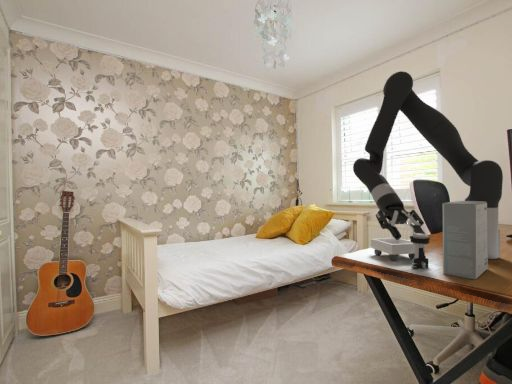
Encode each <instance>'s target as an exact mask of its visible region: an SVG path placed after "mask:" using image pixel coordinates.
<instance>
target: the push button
mask: <svg viewBox="0 0 512 384" xmlns="http://www.w3.org/2000/svg"><path fill="white" fill-rule="evenodd" d="M430 240H431V238H430V237H428V234H426V233H425V234H422V233H415V232H414V233H412V236H411V235H410V236H409V241H411V242H412V243H413V244H414V245H415V254H414V258H413V259H411V263H410V264H411V266H410V268H413V269H417V270H419V269H425V268H428V267H429V258H427V257H426V256H427V255H426V254H425V252H426V251H425V248H426V245H427V244H429V243H430Z"/></svg>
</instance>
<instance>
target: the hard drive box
mask: <svg viewBox="0 0 512 384" xmlns="http://www.w3.org/2000/svg"><path fill="white" fill-rule="evenodd" d="M488 260H489V259H488V245H487V202H484V201H465V200H453V201H449V202H443V203H442V274H443V275H448V276H453V277H459V278H464V279H468V280H476V279H478V278H479V277H480V276H481V275H483V273H484V272H485V271H486V270H487V269H488V268H489V266H488V265H489V264H488V263H489V261H488Z"/></svg>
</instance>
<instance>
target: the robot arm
mask: <svg viewBox="0 0 512 384" xmlns="http://www.w3.org/2000/svg"><path fill="white" fill-rule="evenodd" d="M413 86H414V79H413V77H412V74H410V73H408V72H406V71H402V70H400V71H397V72H396V71H395V72H394V73H392V74H390V76H389V77H388V78H387V79H386V81H385V83H384V86H383V89H382V93H383V101H382V104H381V106H380V109H379V112H378V114H377V117H376V119H375V122H374V124H373V126H372V127H371V130H370V132H369V135H368V138H367V140H366V143H365V146H364V151H365V152H366V153H368V154H369V159H368V158H366V157H360V158H357V159H356V160H355V161H354V162H353V166H352V169H353V173H354V175H355V177H357V179H359V180H360V182H361V183H362V184H363V185H364V186H365V187H366V188H367V190H368V191H369V193H370V194H371V196H372V199H373V202H374V203H375V205H376V206H377V208H378V211H377V213H376V214H375V217H376V220H377V221H378V224H379V225H380V227H381V229H382V230H388V231H389V232H390V234H391V236H392V238H395V239H396V240H399V239H400V238H401V239H402V234H401V233H400V231H399V230H398V227H397V226H395V225H404V226H406V227H409V228H411V229H413V231H414V233H422V234H426V233H425V232H424V230H423V228H422V226H423V225H424V224H425V221H423V219H422V218H421V217H420V215H419V214H418V213H417V212H416V210H414V209H411V210H410V211H407V210H406V209H405V206H404V202H403V201H402V199H401V198H400V196H399V195H398V194H397V192H396V191H395V189H394V188H393V187H392V186H391V185H390V183H389V182H388V180H387V179H386V177H385V176H384V175H382V174H381V172H382V169H383V163H384V153H385V149H386V147H387V144H388V142H389V139H390V136H391V133H392V130H393V127H394V124H395V121H396V118H397V116H398V114H399V113H400V112H401V113H402V114H403V115H404V116H405V117H406V118H407V119H408V120H409V122H410V123H411V124H412V126H413V127H414V128H415V129H416V130H417V131H418V132H419V134H420V135H421V136H422V137H423V138H424V139H425V140H426V142H428V143H429V145H431V146H432V148H434V149H435V150H436V151H437V152H438V153H439V154H440V155H441V156H442V158H443V159H445V160H446V161H447V163H448V164H449V165H450V166H451V168H452V169H453V170H454V172H456V175H457V176H458V177H459V178H460V180H461V181H462V182H463V183H464V184H465V185H466V186H468V187H469V194H468V195H467V197H466V198H465V199H464V201H484V202H487V245H488V260H496V259H497V260H498V259H499V258H501V229H499V203H500V201H501V199H502V195H503V183H504V182H503V181H504V175H503V169H502V167H501V166H500V165H499V164H498V163H497V162H496V161H493V160H491V159H490V160H488V159H486V160H479V159H477V158H476V157H475V156H474V155H473V154H472V153H471V152H470V151H469V150H468V149H467V148H466V147H465V145H464V142H463V141H462V140H463V139H462V138H461V134H460V132H459V131H458V129H457V127H456V126H455V125H454V124H453V123H452V122H451V121H450V119H448V117H446V116H445V114H443V113H442V112H440V111H439V110H438V109H436V108H434V107H433V106H430V105H429V104H427V103H425V102H424V101H423V100H422V99H421V98H420V97H419V96H418V95H417V94H416V92H415V91H414V90H413ZM408 220H409V221H408ZM412 223H413V224H412Z"/></svg>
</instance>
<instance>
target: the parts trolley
mask: <svg viewBox="0 0 512 384" xmlns="http://www.w3.org/2000/svg"><path fill="white" fill-rule="evenodd" d="M370 248H371V249H374V252H373V253H374V254H375V256H382V253H386V254H388V259H389V261H391V262H394V261H397V260H398V255H407V254H408V259H410V260H412V259H413V258H414V254H415V245H414V244H413V243H412V242H411V241H410V239H404V238H402V237H401V238H400V239H399V240H396V239H395V238H394V237H383V238H382V237H381V238H370Z"/></svg>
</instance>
